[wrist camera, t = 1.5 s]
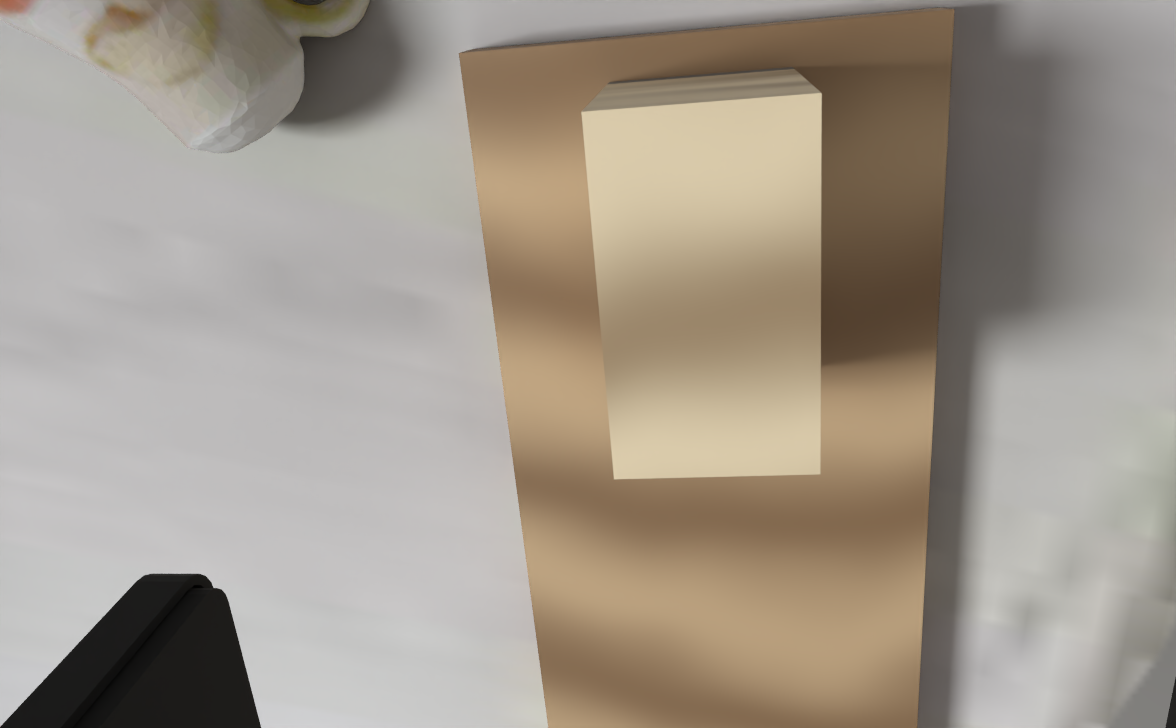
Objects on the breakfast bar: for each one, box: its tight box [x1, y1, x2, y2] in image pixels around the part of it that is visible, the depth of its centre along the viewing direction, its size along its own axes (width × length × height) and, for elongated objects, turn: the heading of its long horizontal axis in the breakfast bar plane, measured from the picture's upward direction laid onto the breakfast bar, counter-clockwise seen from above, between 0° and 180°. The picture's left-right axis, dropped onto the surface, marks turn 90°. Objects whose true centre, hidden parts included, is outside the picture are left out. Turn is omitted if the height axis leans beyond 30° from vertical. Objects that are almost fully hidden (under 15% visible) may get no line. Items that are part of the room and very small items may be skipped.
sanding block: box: [581, 67, 822, 479], centre depth 22 cm, size 8×4×6 cm, turn 5°
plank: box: [459, 8, 954, 728], centre depth 28 cm, size 26×12×2 cm, turn 5°
